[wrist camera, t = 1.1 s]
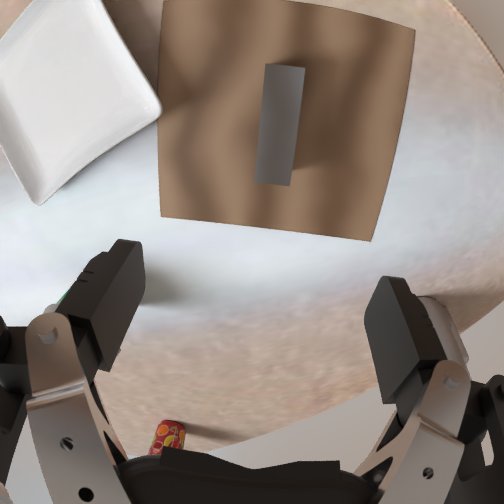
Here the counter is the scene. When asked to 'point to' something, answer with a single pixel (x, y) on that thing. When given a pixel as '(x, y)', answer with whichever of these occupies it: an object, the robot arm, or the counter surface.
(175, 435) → the smoothie
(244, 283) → the counter surface
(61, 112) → the salad plate
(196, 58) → the cover board
